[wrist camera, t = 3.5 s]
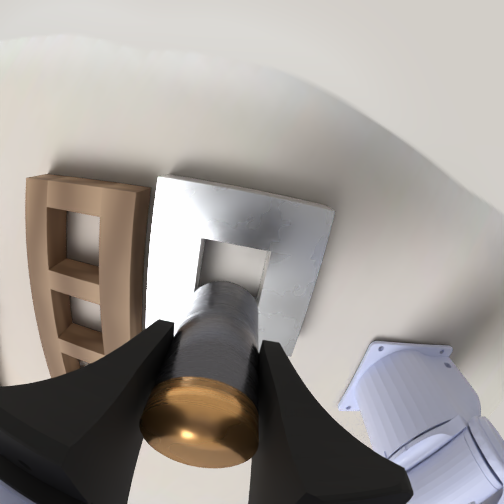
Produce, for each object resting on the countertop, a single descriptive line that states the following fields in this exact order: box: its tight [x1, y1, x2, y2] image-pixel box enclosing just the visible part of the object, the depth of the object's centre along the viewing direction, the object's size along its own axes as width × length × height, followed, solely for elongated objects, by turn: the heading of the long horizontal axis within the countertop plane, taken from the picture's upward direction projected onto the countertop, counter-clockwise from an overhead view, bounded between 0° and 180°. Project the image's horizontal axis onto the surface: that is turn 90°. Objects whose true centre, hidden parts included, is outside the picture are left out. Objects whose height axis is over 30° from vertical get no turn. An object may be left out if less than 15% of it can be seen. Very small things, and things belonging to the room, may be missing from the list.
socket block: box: [146, 174, 336, 356], centre depth 18 cm, size 10×10×2 cm
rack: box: [25, 174, 151, 378], centre depth 19 cm, size 9×20×2 cm, turn 169°
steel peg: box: [139, 281, 259, 468], centre depth 10 cm, size 3×3×7 cm
